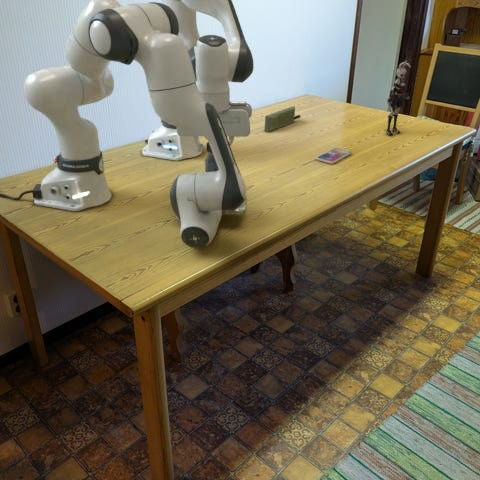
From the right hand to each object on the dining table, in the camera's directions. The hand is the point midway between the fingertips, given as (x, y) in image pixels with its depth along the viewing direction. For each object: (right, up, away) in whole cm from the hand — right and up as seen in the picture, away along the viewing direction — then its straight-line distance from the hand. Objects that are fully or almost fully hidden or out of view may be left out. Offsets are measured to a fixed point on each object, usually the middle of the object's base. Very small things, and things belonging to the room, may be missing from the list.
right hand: (213, 151), depth 142 cm
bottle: (0, -15, +8) cm, 17 cm away
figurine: (+71, +20, +73) cm, 104 cm away
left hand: (0, -10, +7) cm, 12 cm away
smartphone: (+42, +6, +46) cm, 63 cm away
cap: (0, +2, -1) cm, 2 cm away
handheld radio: (+26, +25, +81) cm, 89 cm away
